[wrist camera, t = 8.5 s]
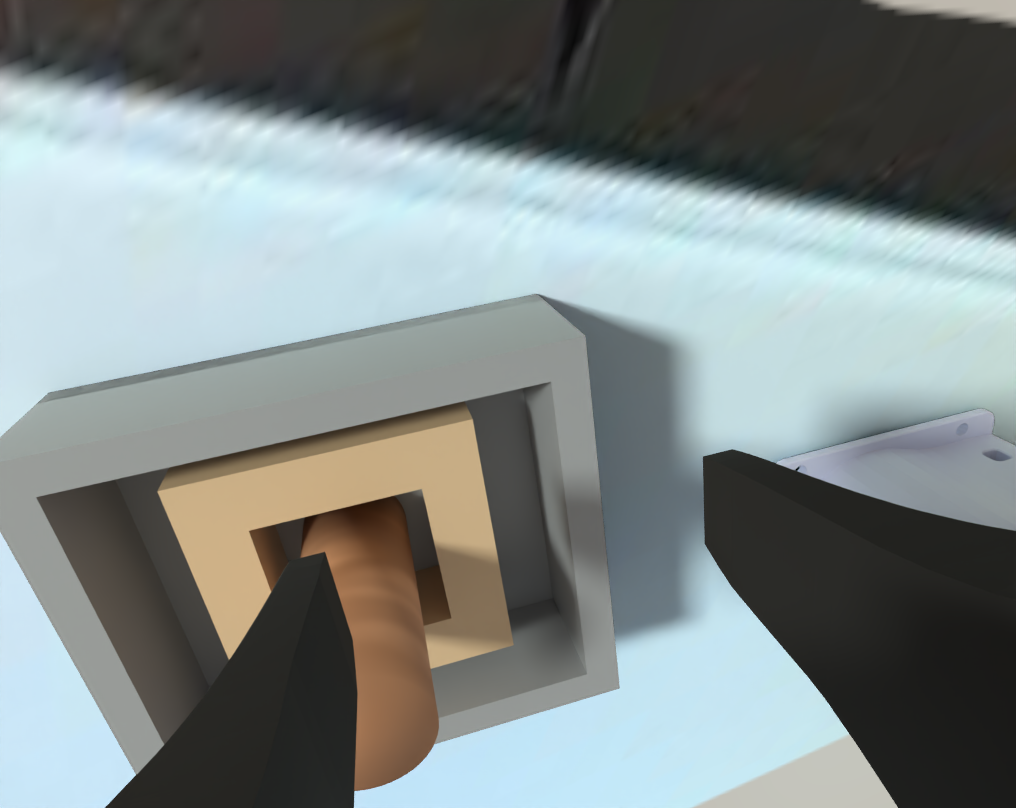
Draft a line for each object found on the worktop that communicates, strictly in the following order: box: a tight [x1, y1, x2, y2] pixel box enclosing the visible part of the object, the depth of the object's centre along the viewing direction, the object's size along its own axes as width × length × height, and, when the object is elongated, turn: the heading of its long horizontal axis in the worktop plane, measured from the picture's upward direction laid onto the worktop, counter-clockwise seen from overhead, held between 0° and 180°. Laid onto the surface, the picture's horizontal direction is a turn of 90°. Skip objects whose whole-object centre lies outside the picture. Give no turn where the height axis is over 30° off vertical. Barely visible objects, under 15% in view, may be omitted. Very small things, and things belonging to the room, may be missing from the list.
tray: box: [0, 294, 620, 775], centre depth 20 cm, size 14×12×4 cm
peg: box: [300, 496, 439, 791], centre depth 17 cm, size 3×3×8 cm
